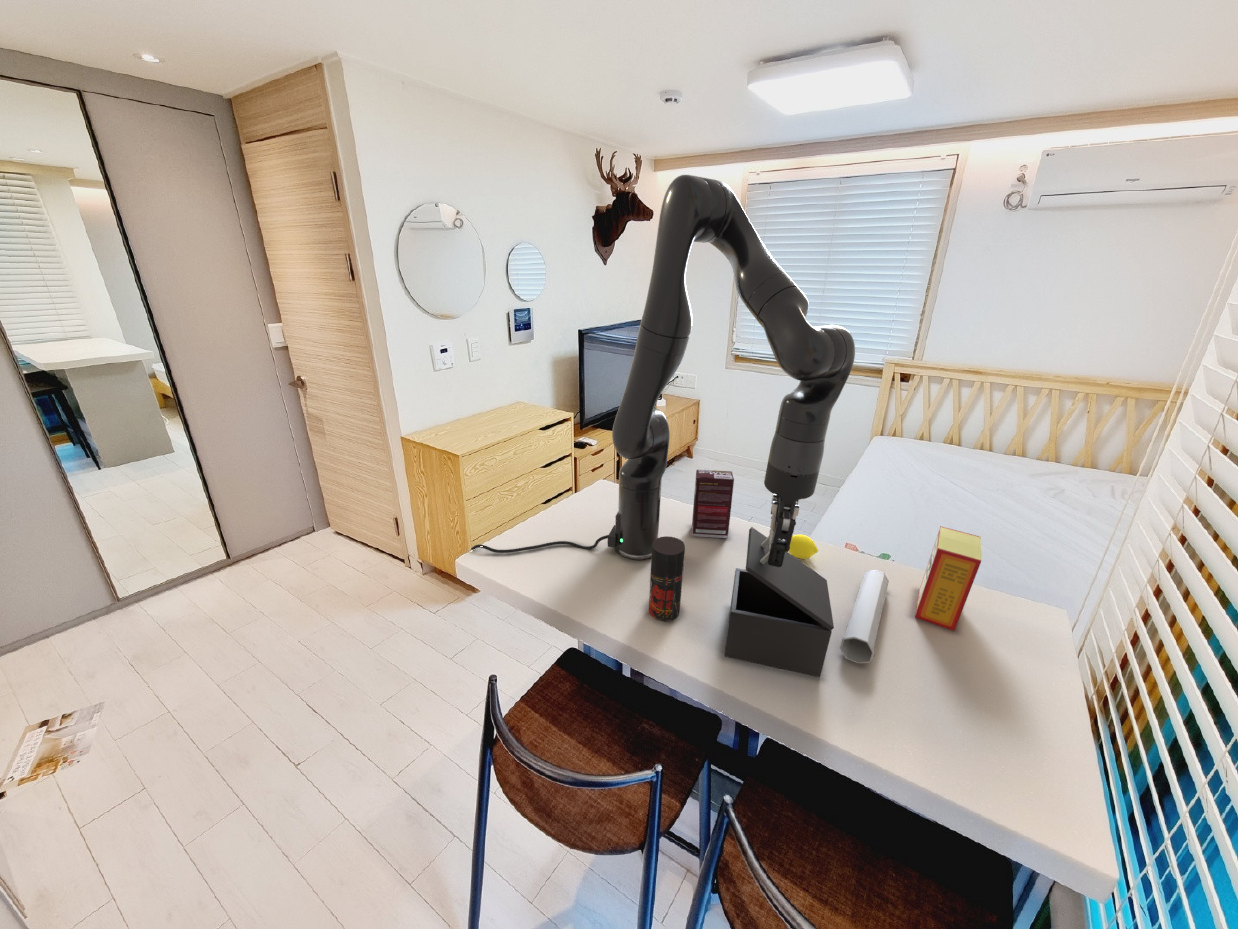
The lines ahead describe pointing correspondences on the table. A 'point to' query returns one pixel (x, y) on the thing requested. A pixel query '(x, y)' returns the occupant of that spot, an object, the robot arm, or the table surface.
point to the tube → (865, 618)
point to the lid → (790, 579)
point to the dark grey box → (773, 629)
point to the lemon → (802, 547)
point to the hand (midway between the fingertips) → (774, 553)
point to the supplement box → (712, 503)
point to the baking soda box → (948, 577)
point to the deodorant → (666, 578)
